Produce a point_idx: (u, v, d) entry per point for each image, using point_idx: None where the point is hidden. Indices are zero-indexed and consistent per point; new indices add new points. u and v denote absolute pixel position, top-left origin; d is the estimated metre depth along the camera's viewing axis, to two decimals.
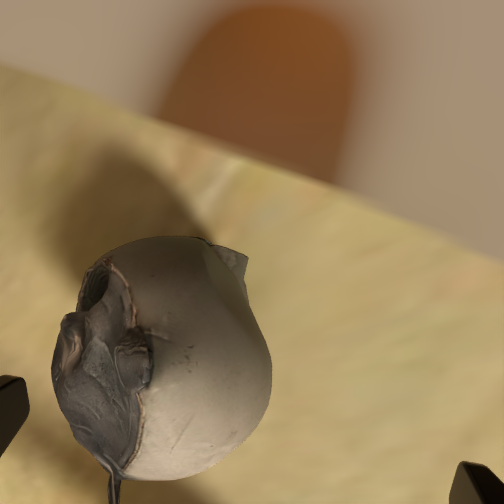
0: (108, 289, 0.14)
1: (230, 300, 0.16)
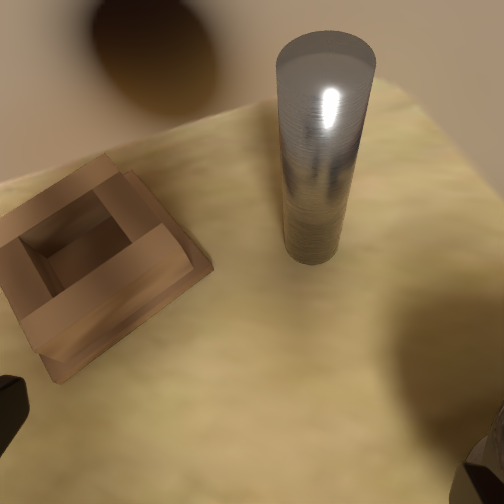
0: None
1: None
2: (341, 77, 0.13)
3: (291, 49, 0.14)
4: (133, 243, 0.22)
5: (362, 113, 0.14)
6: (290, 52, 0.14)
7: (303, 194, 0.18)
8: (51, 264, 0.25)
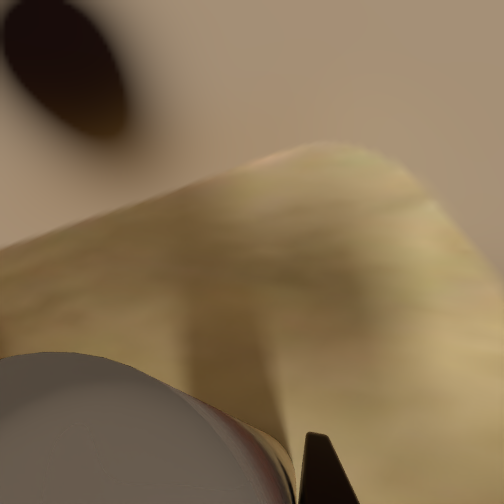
0: None
1: None
2: None
3: None
4: None
5: None
6: None
7: None
8: None
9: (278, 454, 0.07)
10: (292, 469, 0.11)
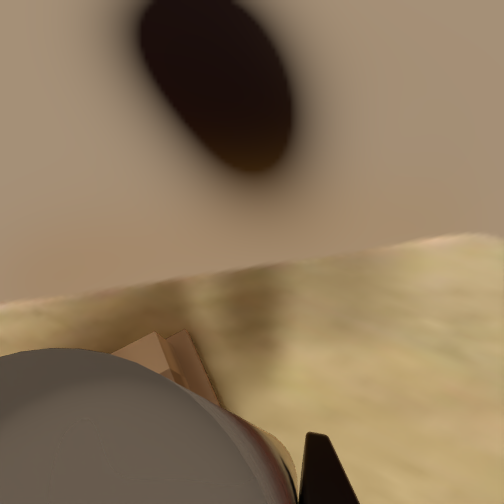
0: None
1: None
2: None
3: None
4: None
5: None
6: None
7: None
8: None
9: (280, 452, 0.08)
10: (294, 468, 0.11)
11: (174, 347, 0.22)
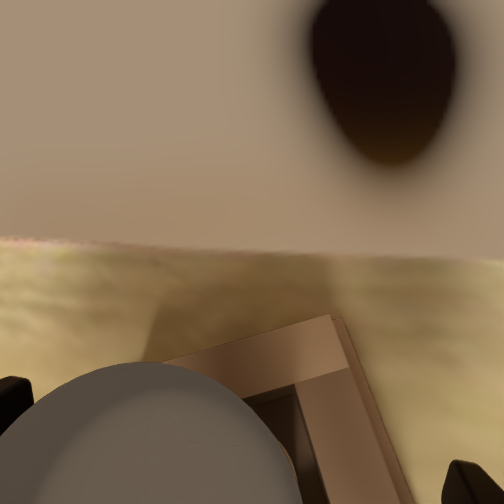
0: None
1: None
2: None
3: (20, 453, 0.04)
4: None
5: None
6: (12, 470, 0.04)
7: None
8: None
9: None
10: None
11: None
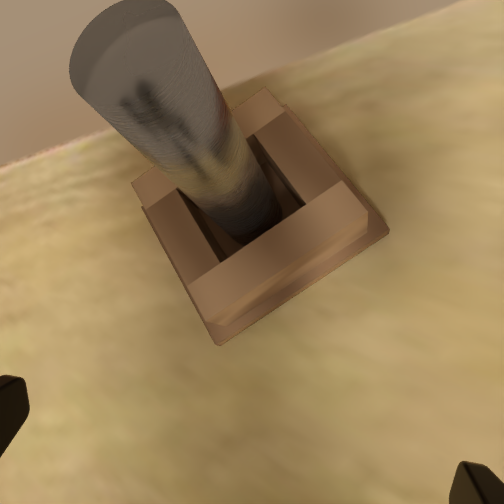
0: None
1: None
2: (145, 64, 0.10)
3: (83, 45, 0.11)
4: (307, 204, 0.18)
5: (201, 92, 0.11)
6: (83, 49, 0.11)
7: (197, 193, 0.15)
8: (203, 216, 0.23)
9: None
10: None
11: None
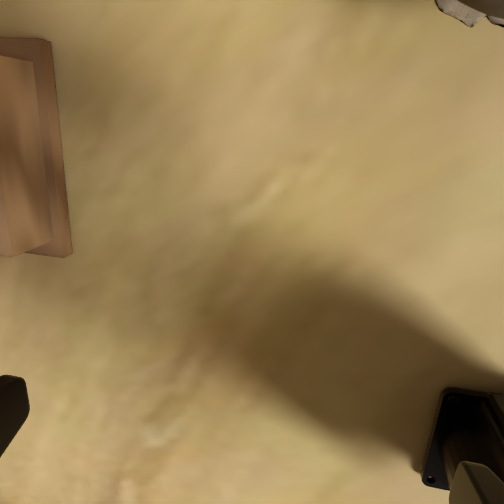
0: None
1: None
2: None
3: None
4: None
5: None
6: None
7: None
8: None
9: None
10: None
11: None
